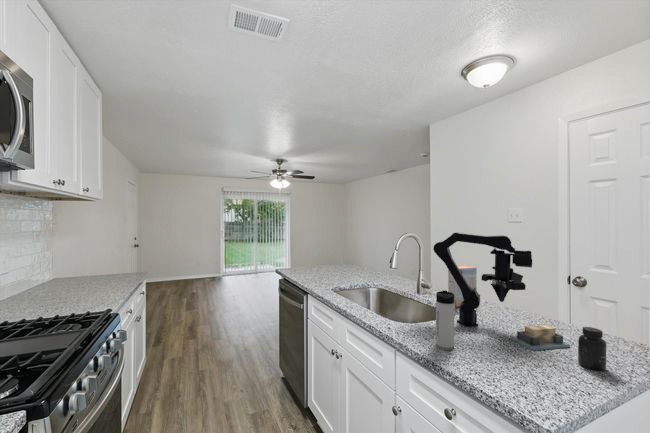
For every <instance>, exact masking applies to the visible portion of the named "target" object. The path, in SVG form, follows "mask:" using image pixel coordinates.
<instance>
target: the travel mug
mask: <svg viewBox="0 0 650 433" xmlns="http://www.w3.org/2000/svg"><path fill="white" fill-rule="evenodd" d="M435 296H436V298H435V299H436V300H435V346H436V347H437V349H439V350H442V351H452V350H454V349H455V308H454V294H453V293H451V292H448V290H442V291H441V290H440V291H437V292H436V294H435Z"/></svg>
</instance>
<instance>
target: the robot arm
mask: <svg viewBox="0 0 650 433" xmlns="http://www.w3.org/2000/svg"><path fill="white" fill-rule="evenodd" d="M457 242H460V243H469V244H476V245H485V246H488V247H492V248H493V249H492V250H491V251H489V252H490V253H489V254H491V255H494V266H492V270H494V273H483V274H482V275H481V281H482V282H483V281H484V282H488V281H491V283H490V286H491V287H492V288H493V290H494V291H495V294H496V296H497V298H498V301H499V302H500V303H504V302H505V300H506V297H507V294H508V293H509V291H510V290H511V291H526V287H527V286H526V283H524V282H522V281H523V278H524V275H523V274H519V273H516V272H515V271H514V269H513V267H511V261H512V265H515V267H520V268H529V269H532V268H533V259H532V258H533V257H532V251H531V250H516V248H515V247H513V245H512V240H511V239H510V238H509V237H508V236H507V235H501V234H500V235H481V234H480V235H478V234H468V233H461V232H457V231H456V232H453V233H452V234H451V235H449V237H447V238H446V239H445V240H443V241H439V242H436V243H435V244H434V245H433V251H434V253H435V255H437V257H438V258H439V259H441V261H442V262H443V263H444V264H445V266H446V268H447V269H449V271H450V273H451V274H452V276H453V278H454V280H455V281H456V283H457V285H458V286H459V288H460V290H461V292H462V296H463V299H464V301H462V302H461V305H460V307H459V314H458V319H457V320H456V322H457V323H459V324H460V325H462V326H464V327H475V326H479V324H478V323H477V321H478V320H477V319H478V314H477V310H476V309H478V308H479V306H480V305H481V294H479V291H477V290H476V288H473V289H472V288H471V287H470V286H469V285H468V283H467V281H466V280H465V278H464V277H463V275H462V273H461V272H460V270H459V268H458V267H459V266H458V265H457V263H456V262H455V260H454V259H453V255H452V252H451V250H450V247H451V246H453V245H454V244H455V243H457ZM505 251H507V252H505ZM511 257H512V258H511ZM511 259H512V260H511Z"/></svg>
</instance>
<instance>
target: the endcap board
mask: <svg viewBox="0 0 650 433" xmlns="http://www.w3.org/2000/svg"><path fill="white" fill-rule="evenodd" d="M516 333H517V334H516V335H515V336H511V337H510V339H511V341H514V342H516V343H518V344H520V345H522V346H523V347H525V348H527V349H529V350H532V351H542V350H553V349H554V350H555V349H556V350H557V349H566V348H570V347H571V344H570V343H567V342H566V341H564V336H563V335H561V334H558V333H556V332H555V336H554V342H542V343H540V338H538V337H534V338H532V337H530V336H527V335H525V330H524V331H523V330H522V331H521V330H520V331H517V332H516Z"/></svg>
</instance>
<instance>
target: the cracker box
mask: <svg viewBox="0 0 650 433" xmlns="http://www.w3.org/2000/svg"><path fill="white" fill-rule="evenodd" d="M457 267H458V268H459V270H460V272H461V273H462V275H463V277H464V278H465V280H466V281H467V283H468V285H469V286H470V287H471V288H472V289H473V288H476V290H477V284H478V283H477V282H478V281H477V279H478V278H477V274H478V272H477V270H478V269H477V267H475V266H471V265H463V266H462V265H461V266H457ZM447 269H448V268H447ZM447 272H448V275H447V278H448V280H447V283H448V284H447V286H448V290H447V292H451V293H453V294H454V309H458V308H459V309H460V305H461V302H462V301H464V299H463V296H462V292H461V290H460V288H459V286H458V285H457V283H456V281H455V280H454V278H453V276H452V274H451V273H450V271H449V269H448V271H447Z"/></svg>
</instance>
